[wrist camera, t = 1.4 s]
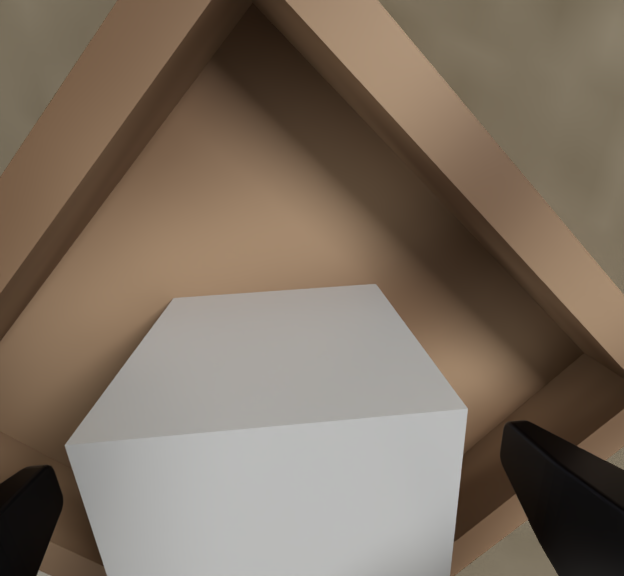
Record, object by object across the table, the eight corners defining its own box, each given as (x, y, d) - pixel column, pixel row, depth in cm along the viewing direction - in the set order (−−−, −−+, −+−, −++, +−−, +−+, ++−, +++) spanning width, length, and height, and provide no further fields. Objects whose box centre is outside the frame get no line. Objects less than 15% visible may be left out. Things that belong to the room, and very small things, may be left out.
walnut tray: (614, 339, 11) (701, 387, 9) (302, 599, 14) (306, 688, 12) (247, -72, 8) (233, -174, 5) (-85, 396, 10) (-193, 468, 8)
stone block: (376, 283, 10) (467, 409, 5) (374, 443, 11) (441, 652, 7) (173, 298, 9) (63, 444, 5) (202, 460, 11) (144, 690, 6)
